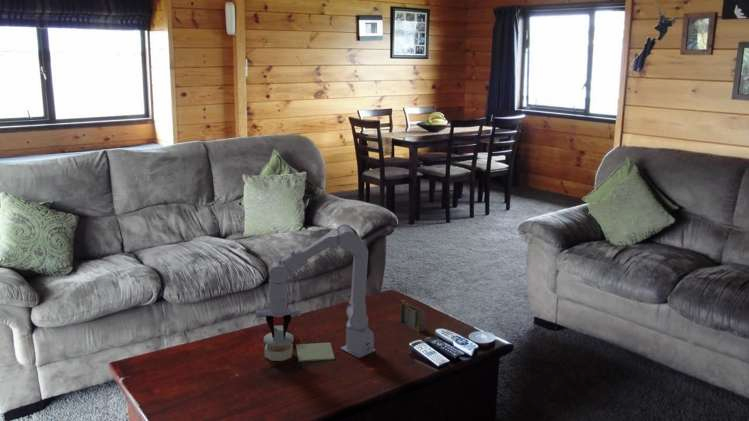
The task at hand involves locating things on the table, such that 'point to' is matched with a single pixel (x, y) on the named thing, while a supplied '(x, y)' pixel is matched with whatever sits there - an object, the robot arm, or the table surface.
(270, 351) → the bowl
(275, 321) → the beer can
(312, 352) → the mat
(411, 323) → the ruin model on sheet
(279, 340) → the lid
